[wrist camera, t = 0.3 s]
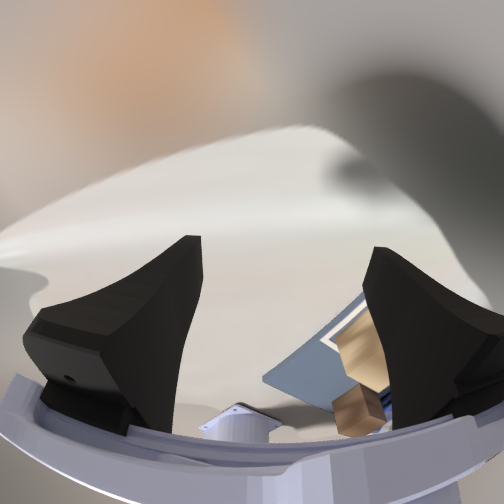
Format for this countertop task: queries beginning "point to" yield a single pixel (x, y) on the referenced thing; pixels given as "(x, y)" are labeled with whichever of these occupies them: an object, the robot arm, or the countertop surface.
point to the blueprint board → (319, 364)
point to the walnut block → (358, 412)
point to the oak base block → (363, 353)
